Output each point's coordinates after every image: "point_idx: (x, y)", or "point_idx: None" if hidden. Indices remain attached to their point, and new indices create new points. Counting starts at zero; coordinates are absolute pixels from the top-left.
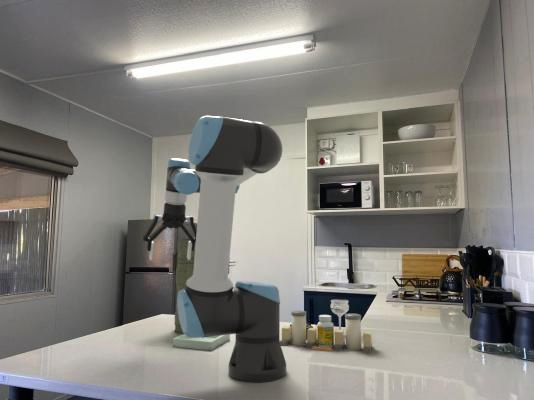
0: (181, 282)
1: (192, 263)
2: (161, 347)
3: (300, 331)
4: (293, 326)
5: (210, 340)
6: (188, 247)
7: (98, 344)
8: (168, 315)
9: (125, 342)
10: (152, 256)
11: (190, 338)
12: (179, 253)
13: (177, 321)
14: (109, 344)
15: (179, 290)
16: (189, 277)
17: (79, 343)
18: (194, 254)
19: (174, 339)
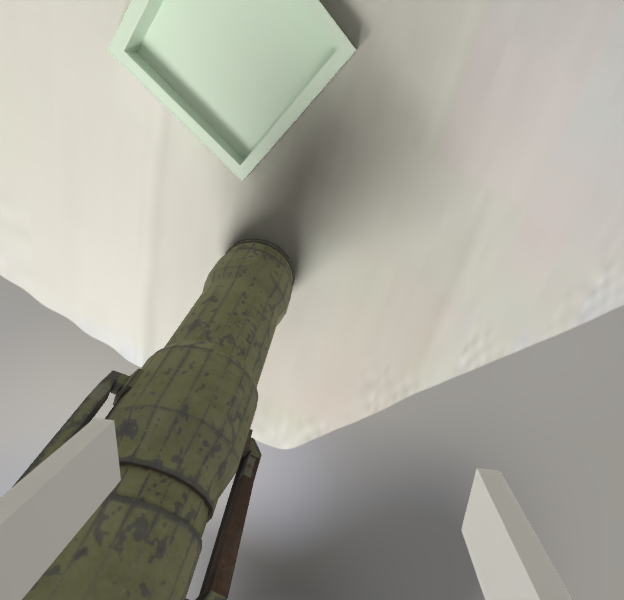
0: (231, 370)
1: None
2: (399, 59)
3: None
4: None
5: (201, 46)
6: (11, 578)
7: (569, 223)
8: (273, 440)
9: (483, 207)
10: (497, 508)
11: (269, 125)
12: (173, 580)
13: (284, 277)
14: (539, 205)
15: (250, 353)
16: (177, 374)
17: (610, 264)
18: None
19: (350, 42)
